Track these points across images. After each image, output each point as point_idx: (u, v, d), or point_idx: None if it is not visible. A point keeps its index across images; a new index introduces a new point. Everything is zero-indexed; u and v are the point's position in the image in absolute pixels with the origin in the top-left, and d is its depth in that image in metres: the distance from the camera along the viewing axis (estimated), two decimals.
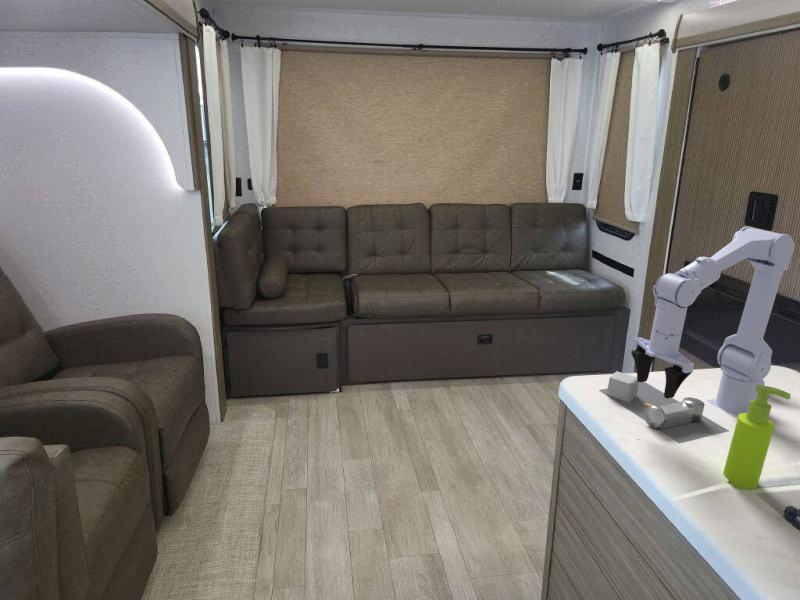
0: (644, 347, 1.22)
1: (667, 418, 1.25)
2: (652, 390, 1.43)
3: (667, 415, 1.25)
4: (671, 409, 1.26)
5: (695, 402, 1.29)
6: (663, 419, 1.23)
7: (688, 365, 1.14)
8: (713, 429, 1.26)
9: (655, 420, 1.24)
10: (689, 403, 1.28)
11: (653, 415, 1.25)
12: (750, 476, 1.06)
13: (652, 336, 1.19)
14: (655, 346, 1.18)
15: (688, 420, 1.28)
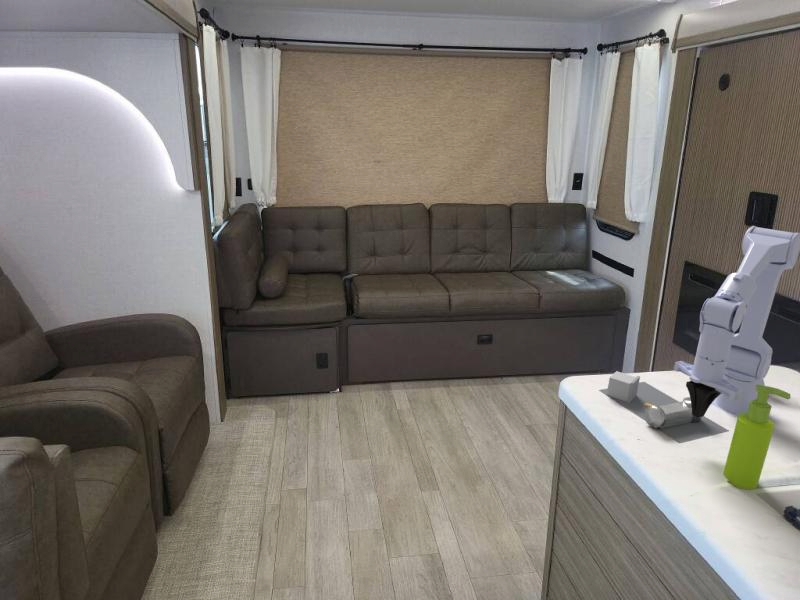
0: (687, 372, 1.18)
1: (667, 418, 1.25)
2: (652, 390, 1.43)
3: (667, 415, 1.25)
4: (671, 409, 1.26)
5: None
6: (663, 419, 1.23)
7: (736, 392, 1.10)
8: (713, 429, 1.26)
9: (655, 420, 1.24)
10: (689, 403, 1.28)
11: (653, 415, 1.25)
12: (750, 476, 1.06)
13: (696, 361, 1.15)
14: (700, 372, 1.14)
15: (688, 420, 1.28)
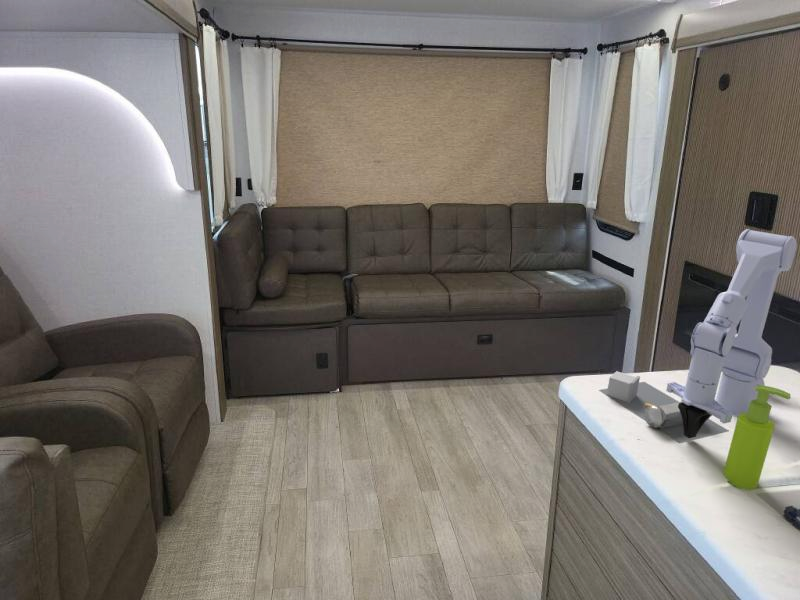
0: (679, 394, 1.20)
1: (667, 418, 1.25)
2: (652, 390, 1.43)
3: (667, 415, 1.25)
4: (671, 409, 1.26)
5: None
6: (663, 419, 1.23)
7: (726, 415, 1.12)
8: (713, 429, 1.26)
9: (655, 420, 1.24)
10: None
11: (653, 415, 1.25)
12: (750, 476, 1.06)
13: (688, 384, 1.17)
14: (691, 394, 1.17)
15: None
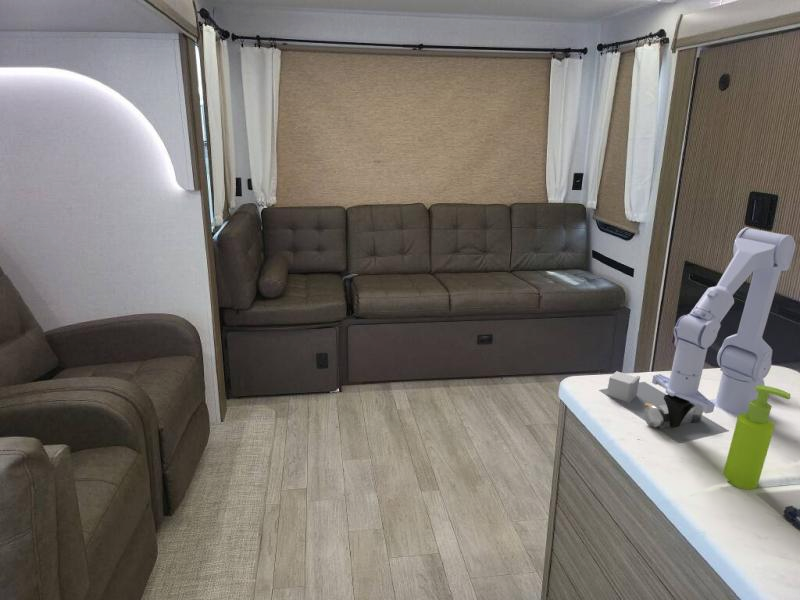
0: (664, 385, 1.24)
1: (666, 418, 1.25)
2: (652, 390, 1.43)
3: (666, 415, 1.25)
4: None
5: None
6: (662, 419, 1.24)
7: (709, 406, 1.16)
8: (713, 429, 1.26)
9: (654, 420, 1.25)
10: None
11: (652, 415, 1.25)
12: (750, 476, 1.06)
13: (672, 375, 1.21)
14: (675, 385, 1.20)
15: (688, 420, 1.28)
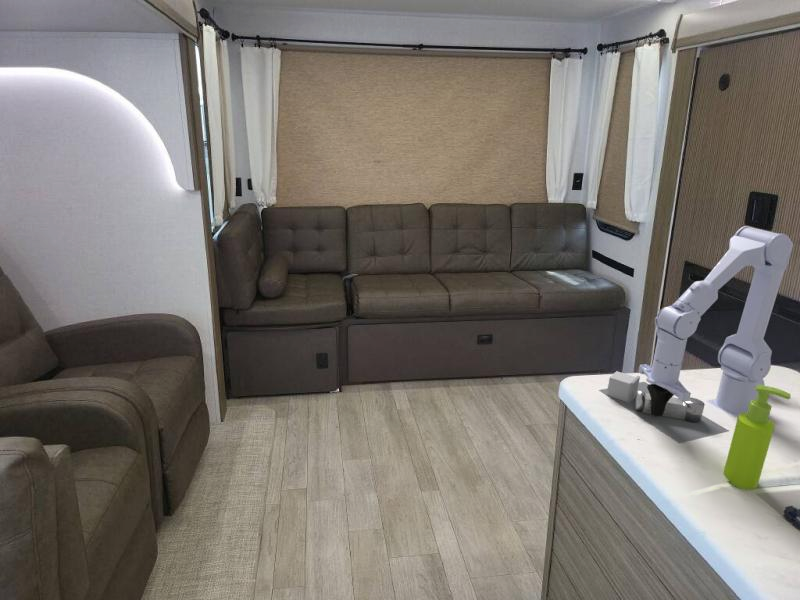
0: (646, 374, 1.29)
1: (649, 404, 1.31)
2: None
3: (649, 401, 1.30)
4: None
5: (694, 402, 1.29)
6: (641, 402, 1.30)
7: (684, 394, 1.20)
8: (713, 429, 1.26)
9: (636, 402, 1.32)
10: (686, 401, 1.29)
11: (636, 397, 1.32)
12: (750, 476, 1.06)
13: (653, 364, 1.26)
14: (655, 374, 1.25)
15: (680, 416, 1.29)
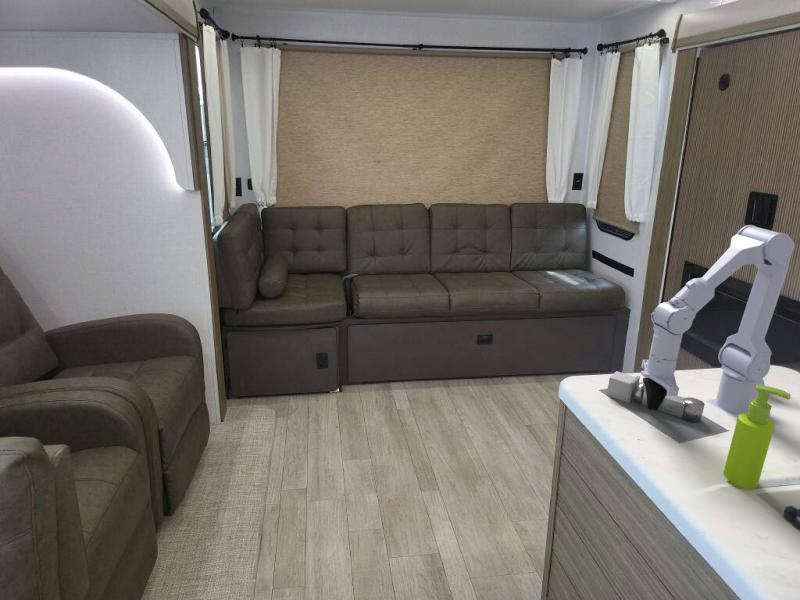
0: (644, 368, 1.32)
1: None
2: None
3: None
4: None
5: (694, 402, 1.29)
6: (639, 394, 1.34)
7: (671, 388, 1.22)
8: (713, 429, 1.26)
9: None
10: (686, 400, 1.30)
11: None
12: (750, 476, 1.06)
13: None
14: (649, 367, 1.28)
15: (677, 414, 1.31)
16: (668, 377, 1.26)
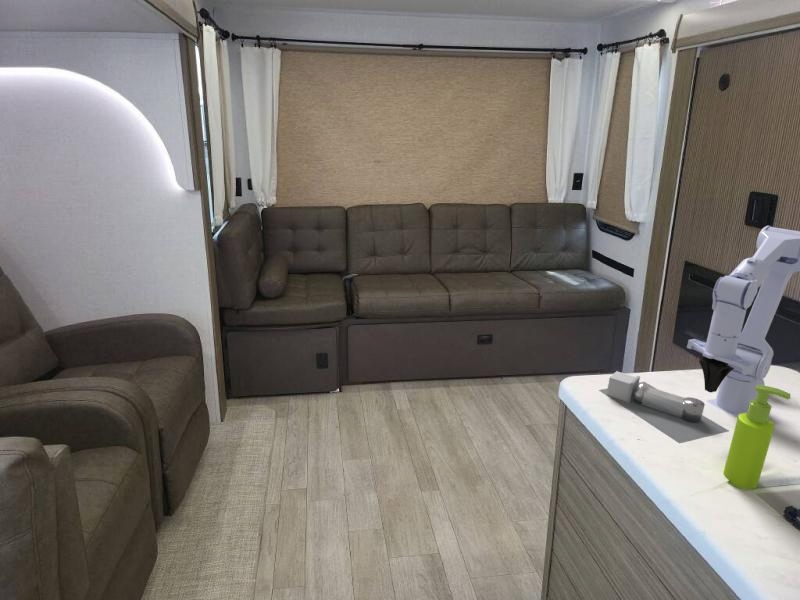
0: (700, 349, 1.23)
1: (648, 397, 1.34)
2: None
3: (647, 394, 1.34)
4: (659, 393, 1.33)
5: (694, 402, 1.29)
6: (639, 394, 1.34)
7: (748, 367, 1.14)
8: (713, 429, 1.26)
9: None
10: (686, 400, 1.30)
11: None
12: (750, 476, 1.06)
13: (709, 338, 1.20)
14: (713, 348, 1.19)
15: (677, 414, 1.31)
16: (733, 355, 1.19)
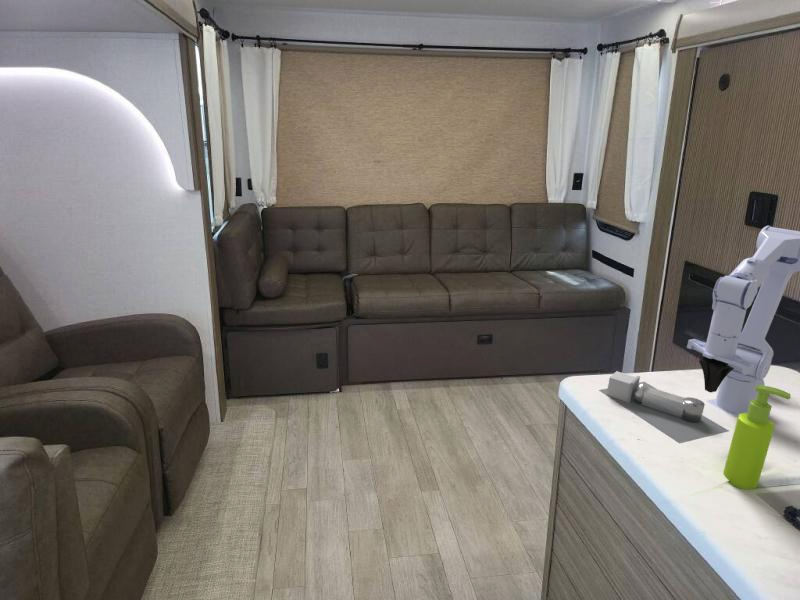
0: (700, 349, 1.23)
1: (648, 397, 1.34)
2: None
3: (647, 394, 1.34)
4: (659, 393, 1.33)
5: (694, 402, 1.29)
6: (639, 394, 1.34)
7: (748, 367, 1.14)
8: (713, 429, 1.26)
9: None
10: (686, 400, 1.30)
11: None
12: (750, 476, 1.06)
13: (709, 338, 1.20)
14: (713, 348, 1.19)
15: (677, 414, 1.31)
16: (733, 355, 1.19)
